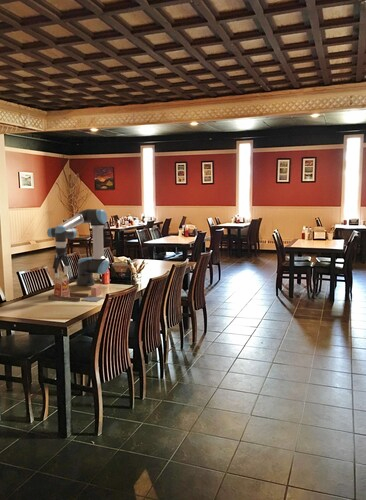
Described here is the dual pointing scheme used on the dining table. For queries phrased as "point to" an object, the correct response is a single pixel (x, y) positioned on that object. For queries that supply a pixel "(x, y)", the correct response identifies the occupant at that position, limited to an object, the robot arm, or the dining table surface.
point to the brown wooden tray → (68, 297)
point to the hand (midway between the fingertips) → (61, 276)
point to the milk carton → (62, 286)
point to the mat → (92, 299)
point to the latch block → (96, 291)
